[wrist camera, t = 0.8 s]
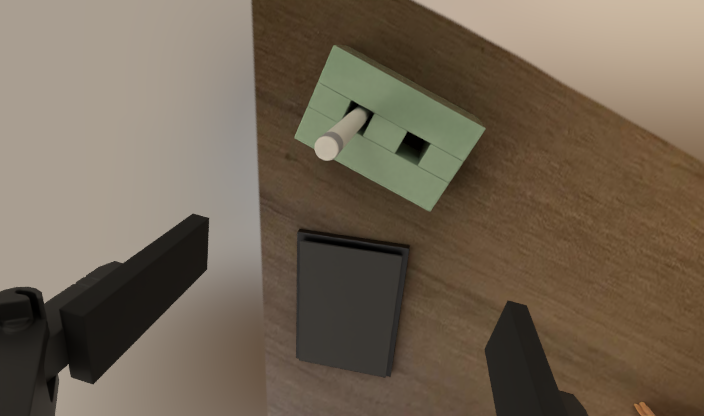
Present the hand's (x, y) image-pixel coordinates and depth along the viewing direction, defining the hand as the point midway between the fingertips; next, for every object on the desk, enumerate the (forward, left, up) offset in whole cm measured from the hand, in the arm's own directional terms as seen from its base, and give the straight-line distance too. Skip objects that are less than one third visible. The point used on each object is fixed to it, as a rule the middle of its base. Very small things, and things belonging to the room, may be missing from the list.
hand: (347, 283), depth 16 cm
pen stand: (-3, +1, -22) cm, 22 cm away
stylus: (-5, 0, -22) cm, 22 cm away
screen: (+14, -12, -21) cm, 28 cm away
